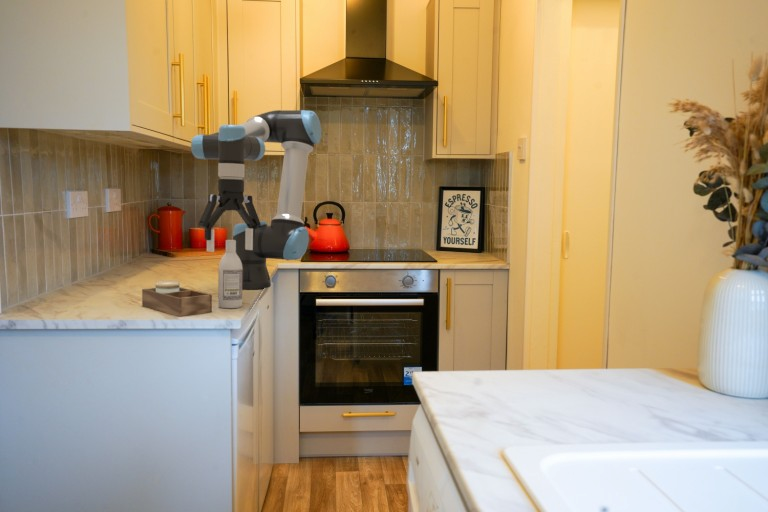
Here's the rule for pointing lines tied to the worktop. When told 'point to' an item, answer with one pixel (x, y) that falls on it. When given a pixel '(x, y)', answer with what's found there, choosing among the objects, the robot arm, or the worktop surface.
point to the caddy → (177, 301)
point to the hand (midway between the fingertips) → (230, 250)
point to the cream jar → (167, 286)
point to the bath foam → (230, 278)
